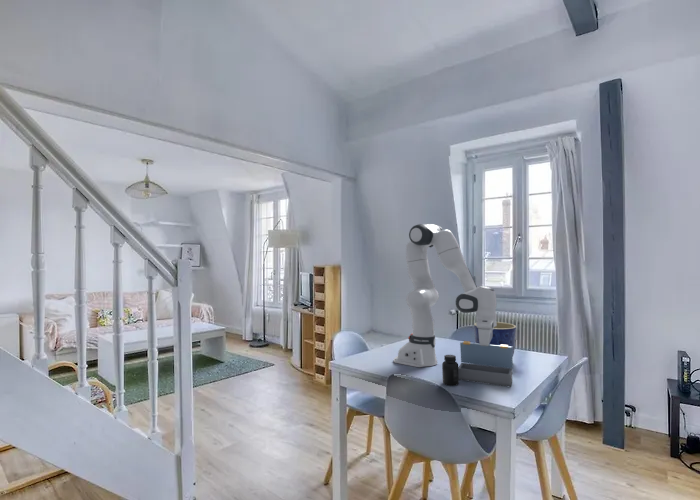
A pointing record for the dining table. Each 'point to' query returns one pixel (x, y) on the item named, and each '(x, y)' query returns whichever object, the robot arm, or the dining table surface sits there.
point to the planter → (500, 335)
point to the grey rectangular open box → (485, 374)
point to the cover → (486, 354)
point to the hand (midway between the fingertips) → (486, 351)
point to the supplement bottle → (450, 371)
